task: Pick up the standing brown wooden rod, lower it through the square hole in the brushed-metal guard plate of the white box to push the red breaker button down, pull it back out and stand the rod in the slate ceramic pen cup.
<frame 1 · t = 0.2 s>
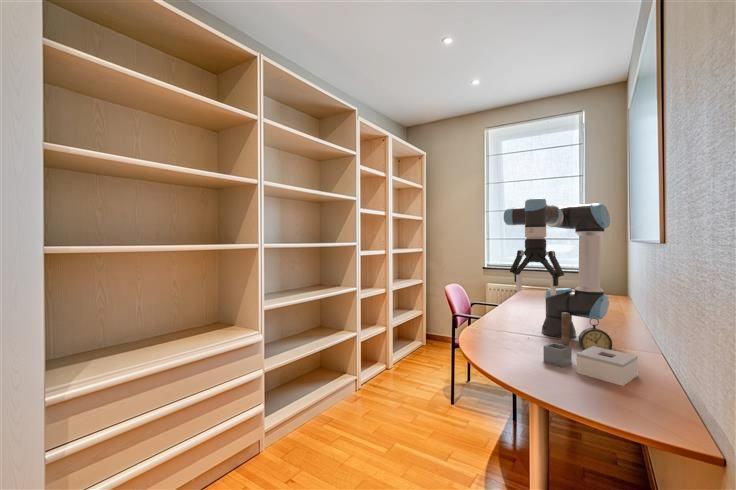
hand: (535, 292, 133), 27 cm above the table, fingers open, 13 cm apart
white box: (606, 374, 121), on the table
alarm clock: (594, 358, 138), on the table
breaker button: (606, 362, 121), point 4 cm above the table, slide at 0.0 cm
brown wooden rod: (565, 357, 139), on the table
pen cup: (557, 362, 133), on the table
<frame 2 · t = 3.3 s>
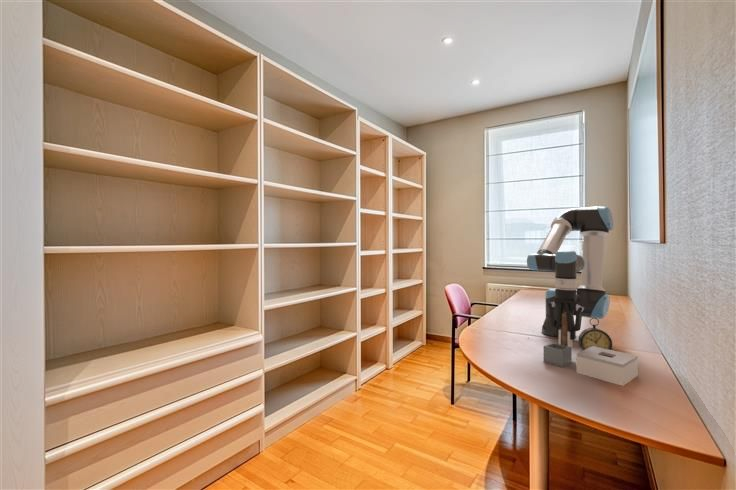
hand: (565, 346, 139), 5 cm above the table, fingers closed on brown wooden rod, 3 cm apart
brown wooden rod: (565, 357, 139), on the table, touching gripper
everything else where it was.
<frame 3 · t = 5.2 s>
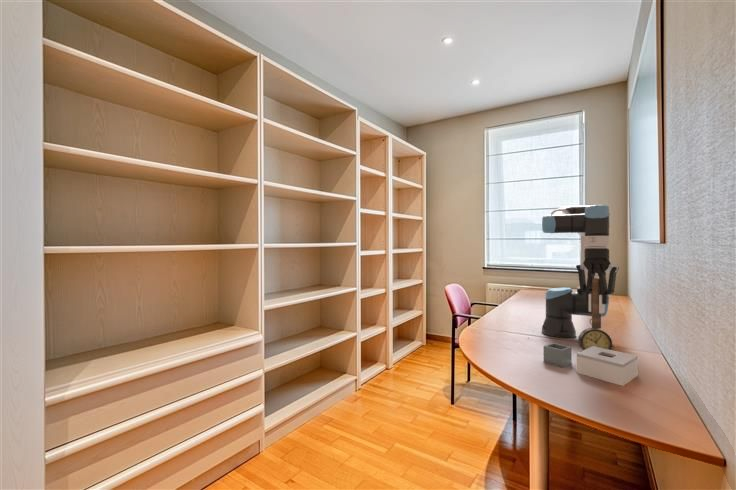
hand: (596, 312, 124), 21 cm above the table, fingers closed on brown wooden rod, 3 cm apart
brown wooden rod: (596, 327, 124), point 16 cm above the table, touching gripper
everything else where it was.
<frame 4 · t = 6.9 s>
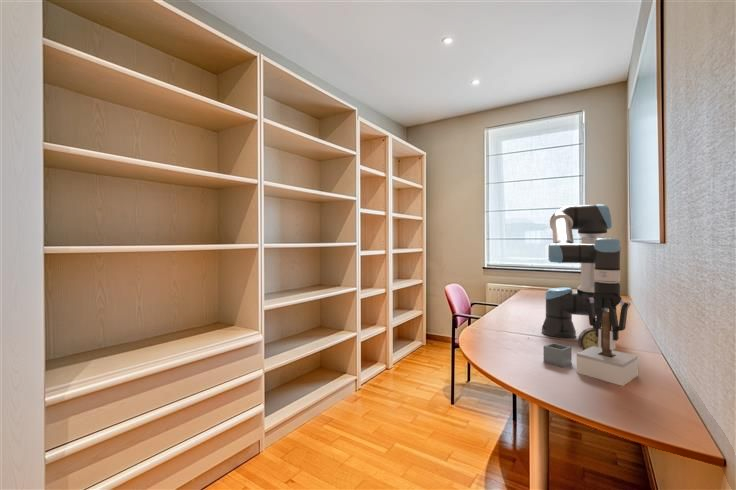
hand: (606, 347, 121), 10 cm above the table, fingers closed on brown wooden rod, 3 cm apart
breaker button: (606, 366, 121), point 3 cm above the table, slide at -1.5 cm, touching white box, brown wooden rod
brown wooden rod: (606, 362, 121), point 4 cm above the table, touching breaker button, gripper
everything else where it was.
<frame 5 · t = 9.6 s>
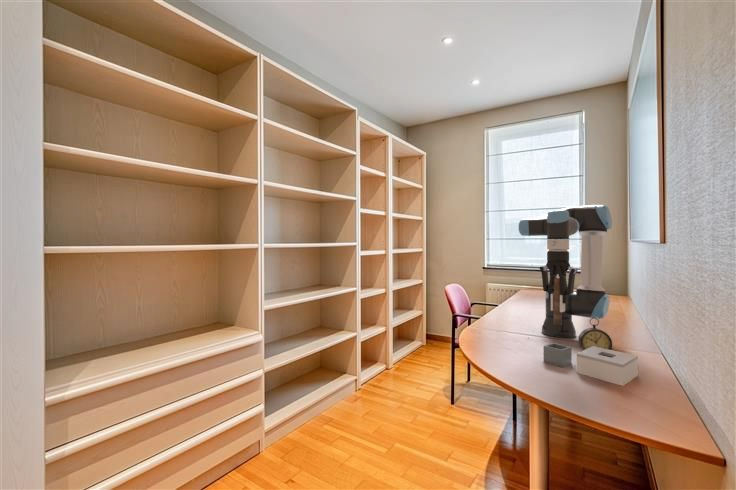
hand: (557, 310, 133), 20 cm above the table, fingers closed on brown wooden rod, 3 cm apart
breaker button: (606, 366, 121), point 3 cm above the table, slide at -1.5 cm, touching white box
brown wooden rod: (557, 324, 133), point 15 cm above the table, touching gripper
everything else where it was.
when the fingers open (7 cm above the table, at t = 11.8 s): brown wooden rod stays where it is, resting on pen cup.
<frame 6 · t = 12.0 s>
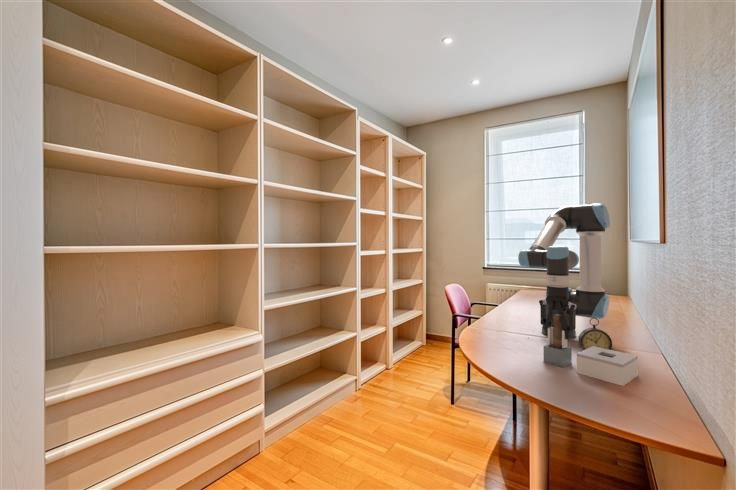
hand: (557, 345, 133), 7 cm above the table, fingers open, 5 cm apart
brown wooden rod: (557, 360, 133), point 1 cm above the table, touching pen cup
everything else where it was.
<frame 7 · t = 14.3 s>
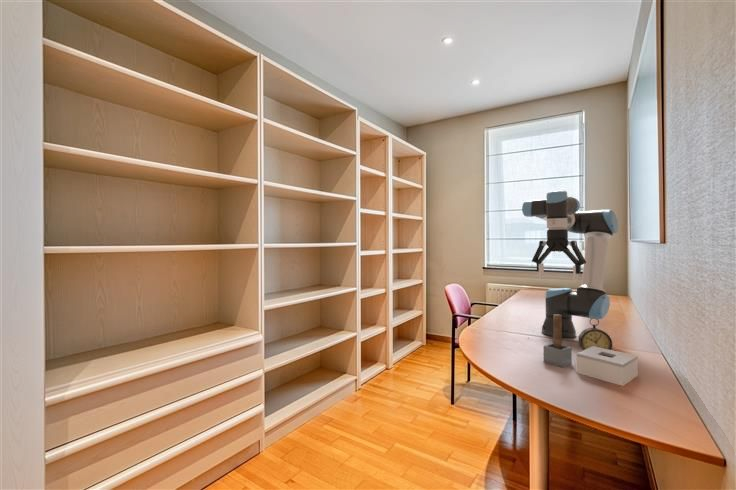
hand: (557, 280, 141), 31 cm above the table, fingers open, 13 cm apart
nothing on the table moved.
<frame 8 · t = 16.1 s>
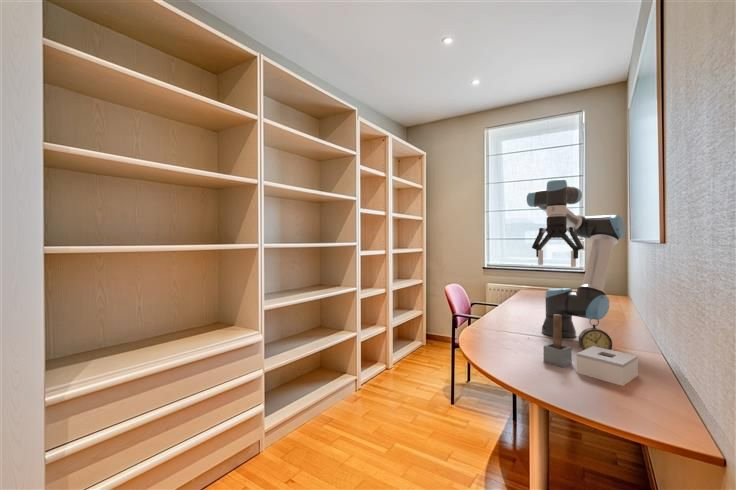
hand: (556, 265, 147), 37 cm above the table, fingers open, 13 cm apart
nothing on the table moved.
at the end: breaker button slide at -1.5 cm; brown wooden rod 0.0 cm off-centre on the pen cup, point 0.6 cm above the pen cup's base; the gripper is holding nothing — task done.
